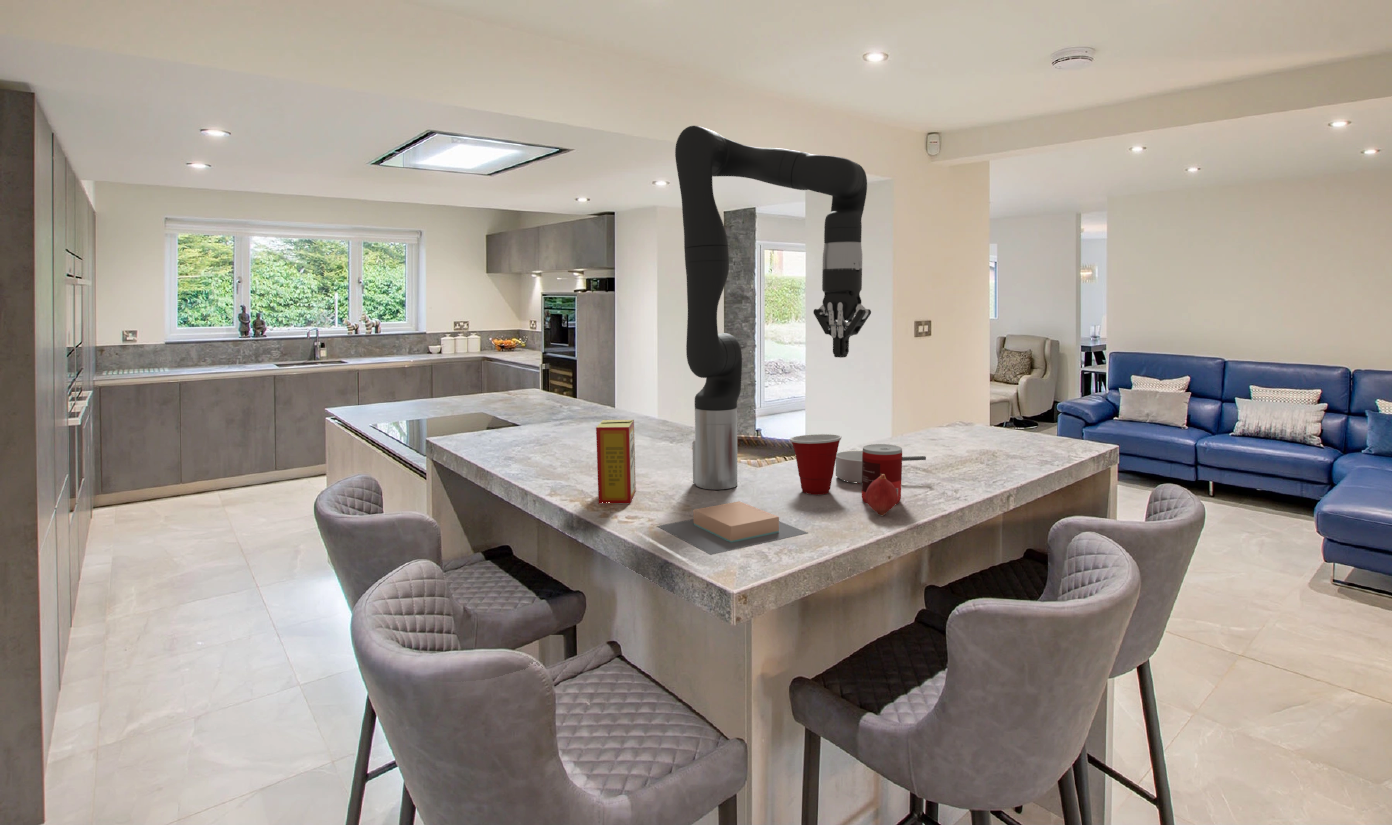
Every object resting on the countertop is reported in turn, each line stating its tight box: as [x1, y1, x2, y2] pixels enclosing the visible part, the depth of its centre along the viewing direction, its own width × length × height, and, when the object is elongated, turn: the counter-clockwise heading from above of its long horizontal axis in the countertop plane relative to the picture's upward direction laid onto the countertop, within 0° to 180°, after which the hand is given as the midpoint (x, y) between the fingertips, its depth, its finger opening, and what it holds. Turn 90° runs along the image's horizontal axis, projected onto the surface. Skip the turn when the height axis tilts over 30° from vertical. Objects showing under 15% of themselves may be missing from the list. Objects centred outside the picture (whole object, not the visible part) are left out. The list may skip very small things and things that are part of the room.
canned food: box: [861, 443, 903, 505], centre depth 150 cm, size 8×8×11 cm
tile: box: [692, 500, 780, 543], centre depth 132 cm, size 12×3×10 cm
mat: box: [656, 518, 809, 556], centre depth 132 cm, size 18×20×1 cm
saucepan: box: [835, 449, 927, 484], centre depth 168 cm, size 12×20×6 cm, turn 81°
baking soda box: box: [595, 419, 637, 504], centre depth 155 cm, size 10×6×16 cm
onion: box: [865, 474, 898, 516], centre depth 140 cm, size 6×6×8 cm
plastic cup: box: [789, 433, 842, 496], centre depth 158 cm, size 11×11×12 cm
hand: (840, 357), depth 147 cm, fingers closed
